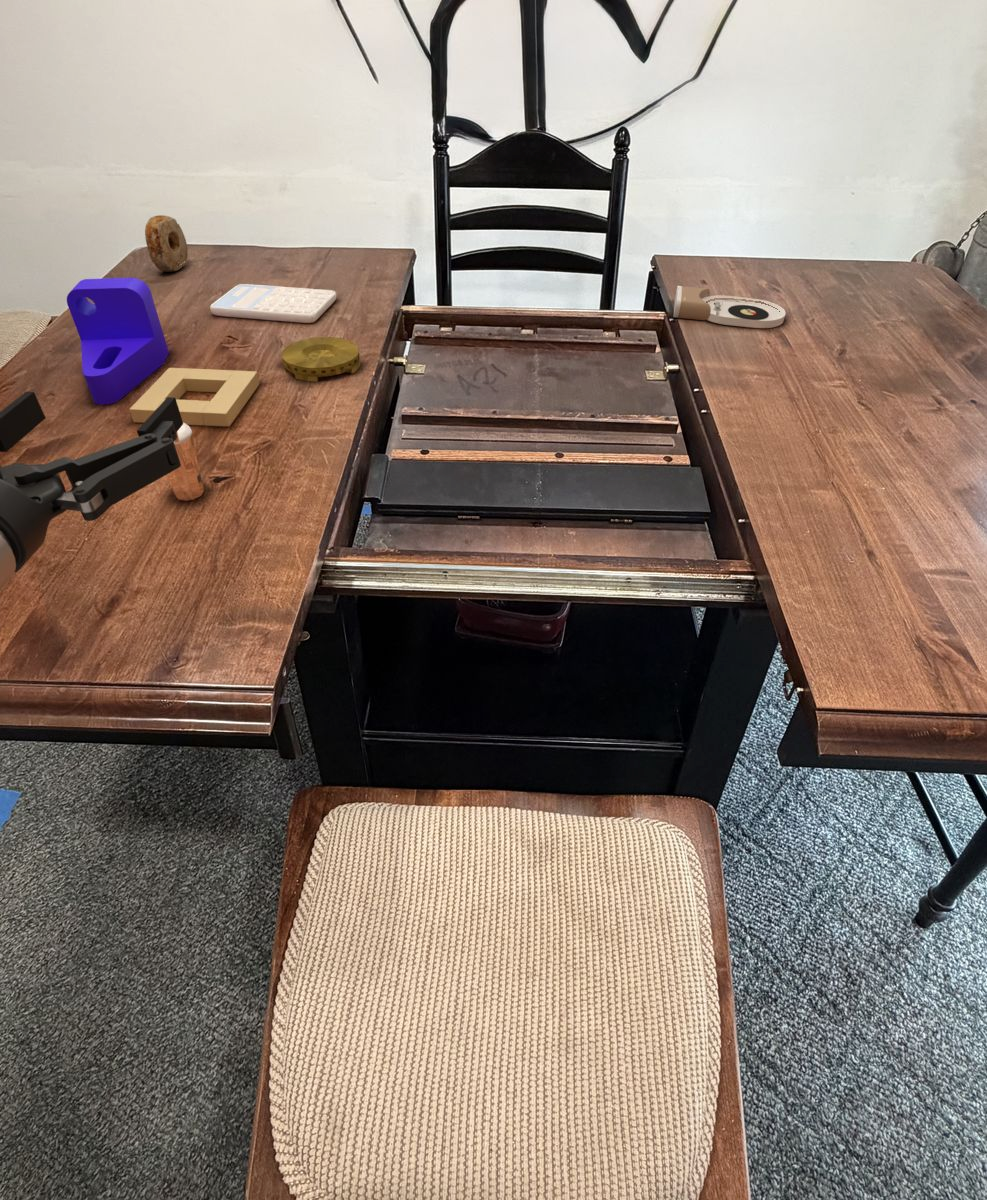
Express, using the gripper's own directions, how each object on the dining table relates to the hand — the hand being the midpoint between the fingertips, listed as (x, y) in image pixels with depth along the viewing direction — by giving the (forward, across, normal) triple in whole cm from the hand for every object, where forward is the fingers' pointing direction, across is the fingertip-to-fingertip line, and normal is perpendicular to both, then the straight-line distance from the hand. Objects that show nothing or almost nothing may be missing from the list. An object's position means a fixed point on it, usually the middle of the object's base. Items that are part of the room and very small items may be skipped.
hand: (105, 407), depth 67 cm
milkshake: (+10, 0, -16) cm, 19 cm away
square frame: (+34, -8, -16) cm, 38 cm away
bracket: (+40, -23, -16) cm, 49 cm away
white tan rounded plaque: (+78, +76, -16) cm, 110 cm away
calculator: (+72, -8, -16) cm, 74 cm away
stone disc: (+91, -36, -16) cm, 99 cm away
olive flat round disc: (+48, +6, -16) cm, 51 cm away
